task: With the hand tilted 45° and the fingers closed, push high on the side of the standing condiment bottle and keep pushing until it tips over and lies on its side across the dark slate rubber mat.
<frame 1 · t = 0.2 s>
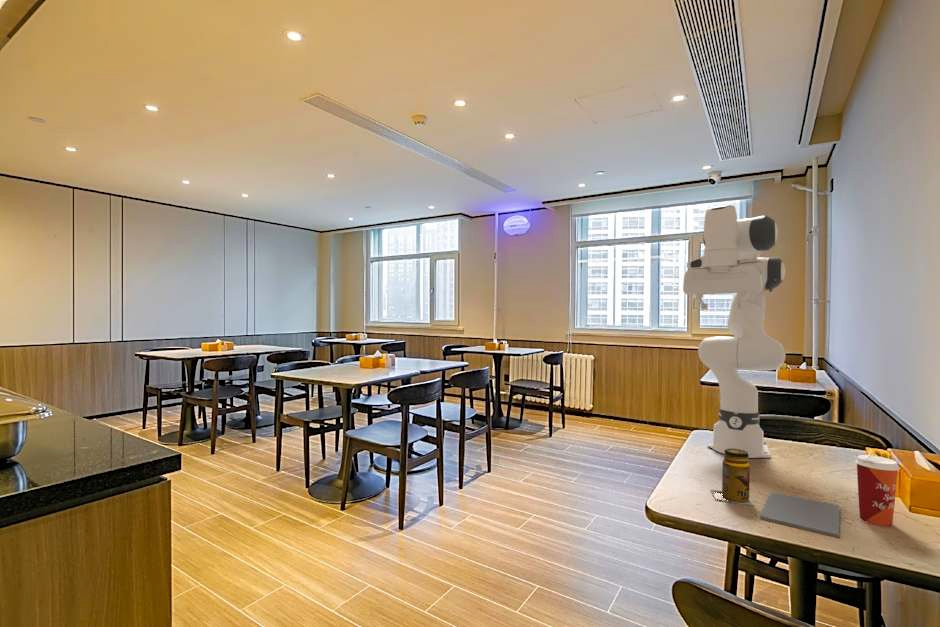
hand: (721, 309, 138), 48 cm above the table, tool pointing down, fingers open, 8 cm apart
condiment: (731, 498, 121), on the table
slate mat: (801, 513, 112), on the table
paper cup: (875, 522, 108), on the table
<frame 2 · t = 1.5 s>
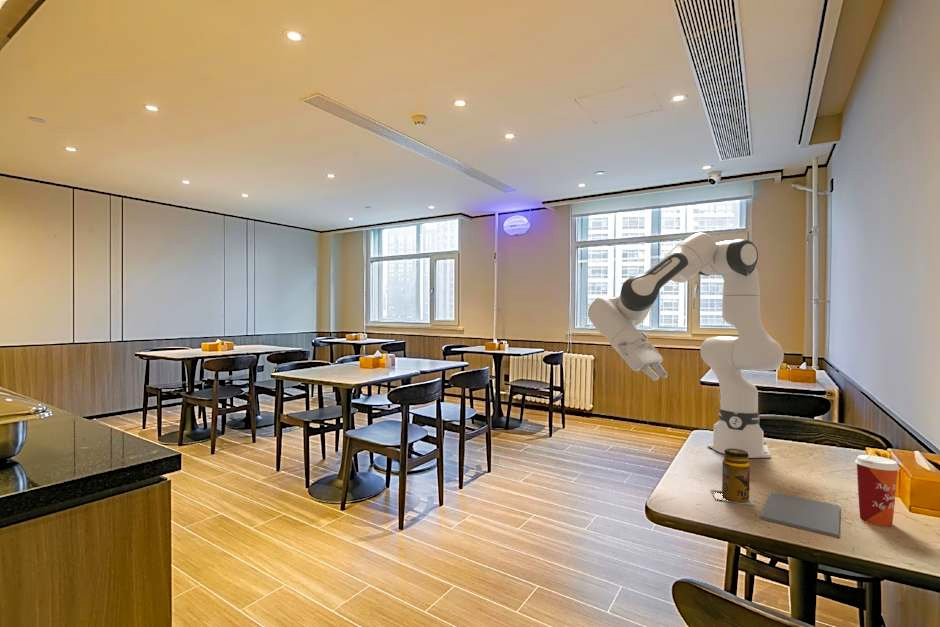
hand: (661, 378, 137), 28 cm above the table, tool tilted 45°, fingers open, 7 cm apart
nothing on the table moved.
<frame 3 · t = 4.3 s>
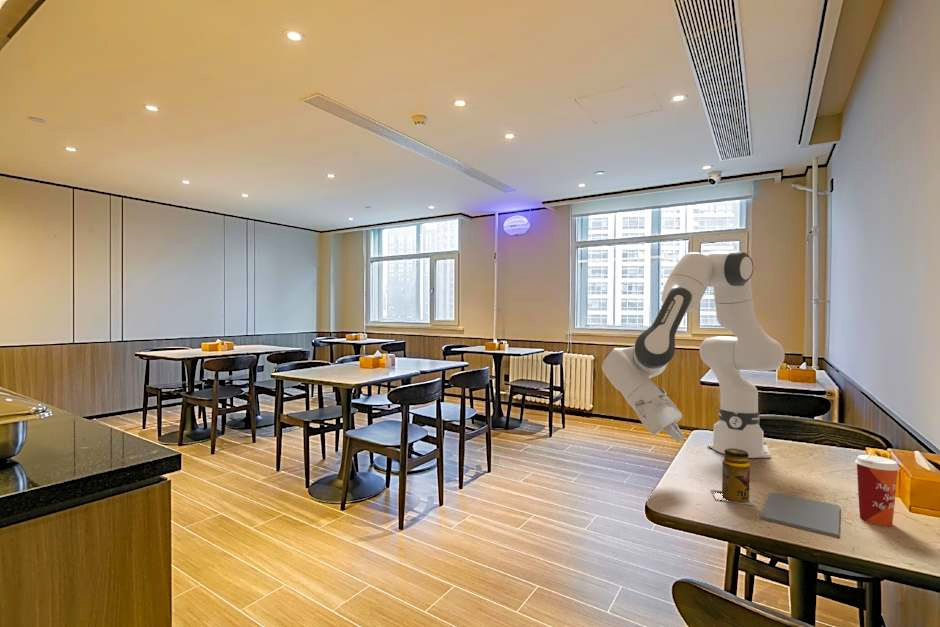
hand: (681, 440, 128), 12 cm above the table, tool tilted 45°, fingers closed
nothing on the table moved.
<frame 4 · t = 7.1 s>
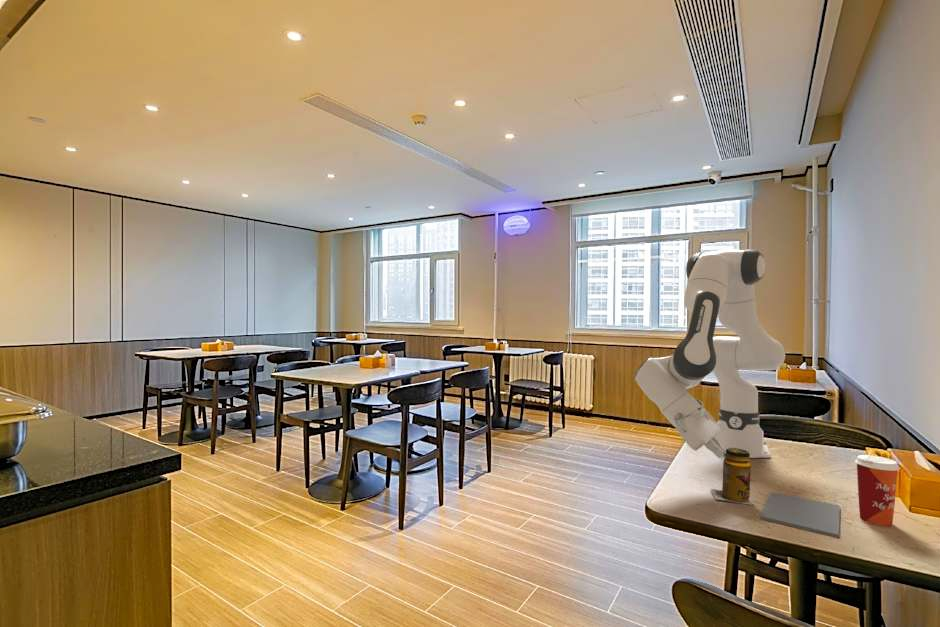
hand: (723, 455, 122), 10 cm above the table, tool tilted 45°, fingers closed, pressing on condiment
condiment: (731, 498, 121), on the table, touching gripper
everything else where it was.
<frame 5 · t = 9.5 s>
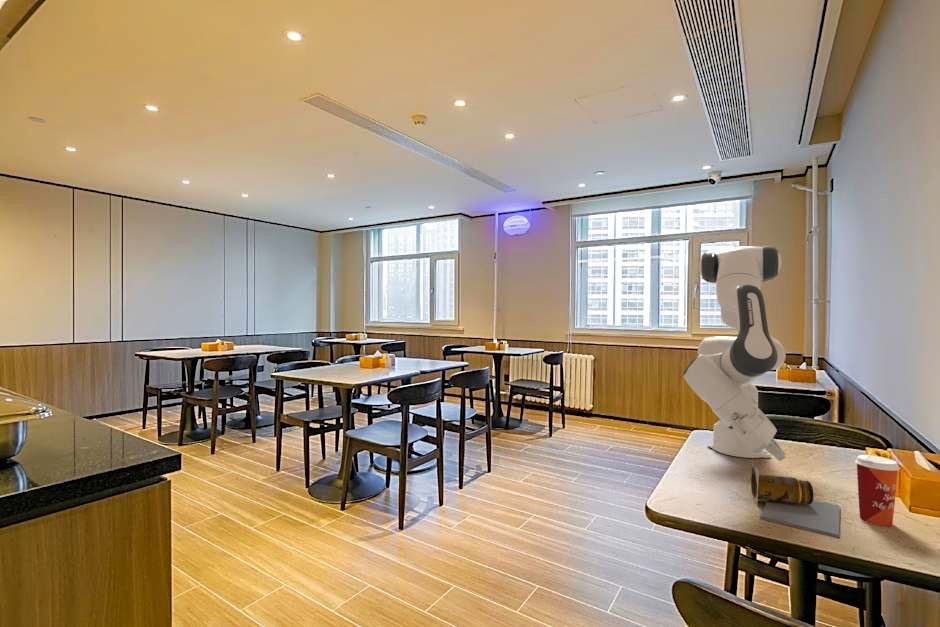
hand: (783, 458, 114), 12 cm above the table, tool tilted 45°, fingers closed
condiment: (752, 482, 119), point 4 cm above the table, touching slate mat
everything else where it was.
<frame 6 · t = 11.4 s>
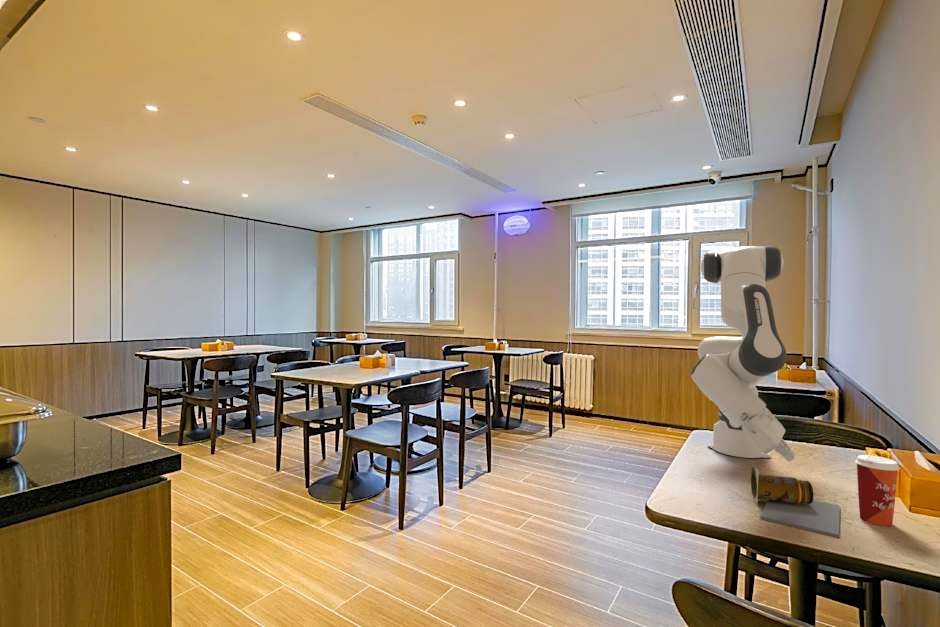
hand: (792, 458, 113), 12 cm above the table, tool tilted 45°, fingers closed
nothing on the table moved.
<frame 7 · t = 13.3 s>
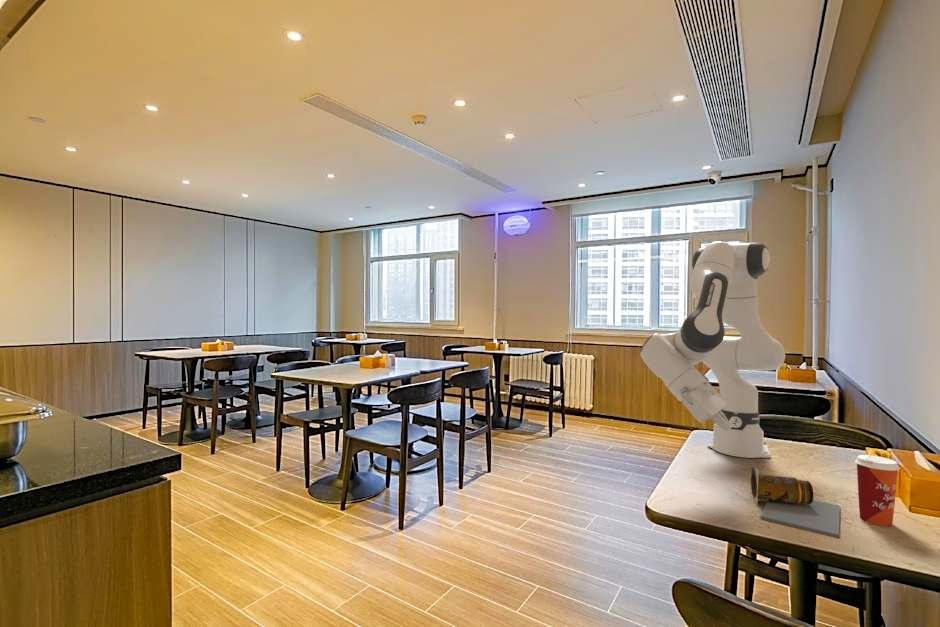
hand: (729, 429, 121), 17 cm above the table, tool tilted 45°, fingers closed
nothing on the table moved.
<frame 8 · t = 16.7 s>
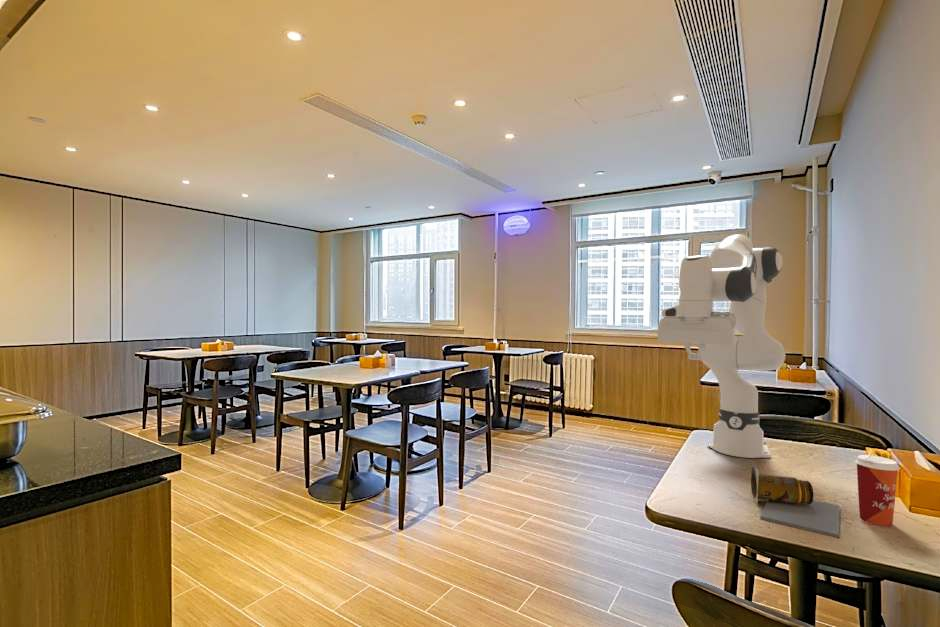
hand: (694, 359, 138), 33 cm above the table, tool pointing down, fingers closed
nothing on the table moved.
at the end: condiment tilted 90°; condiment inside the target area on the slate mat (2.6 cm from its centre), point 4.5 cm above the slate mat's base; condiment touching slate mat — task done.
